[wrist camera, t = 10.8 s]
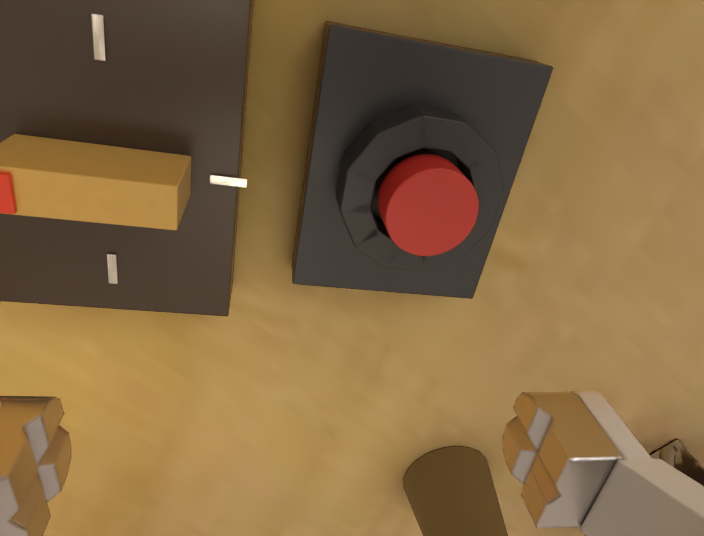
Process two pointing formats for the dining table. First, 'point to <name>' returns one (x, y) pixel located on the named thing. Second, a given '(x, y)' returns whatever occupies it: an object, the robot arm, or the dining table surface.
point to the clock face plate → (129, 144)
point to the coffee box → (681, 460)
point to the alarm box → (407, 153)
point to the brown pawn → (454, 494)
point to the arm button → (427, 205)
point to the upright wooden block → (93, 182)
